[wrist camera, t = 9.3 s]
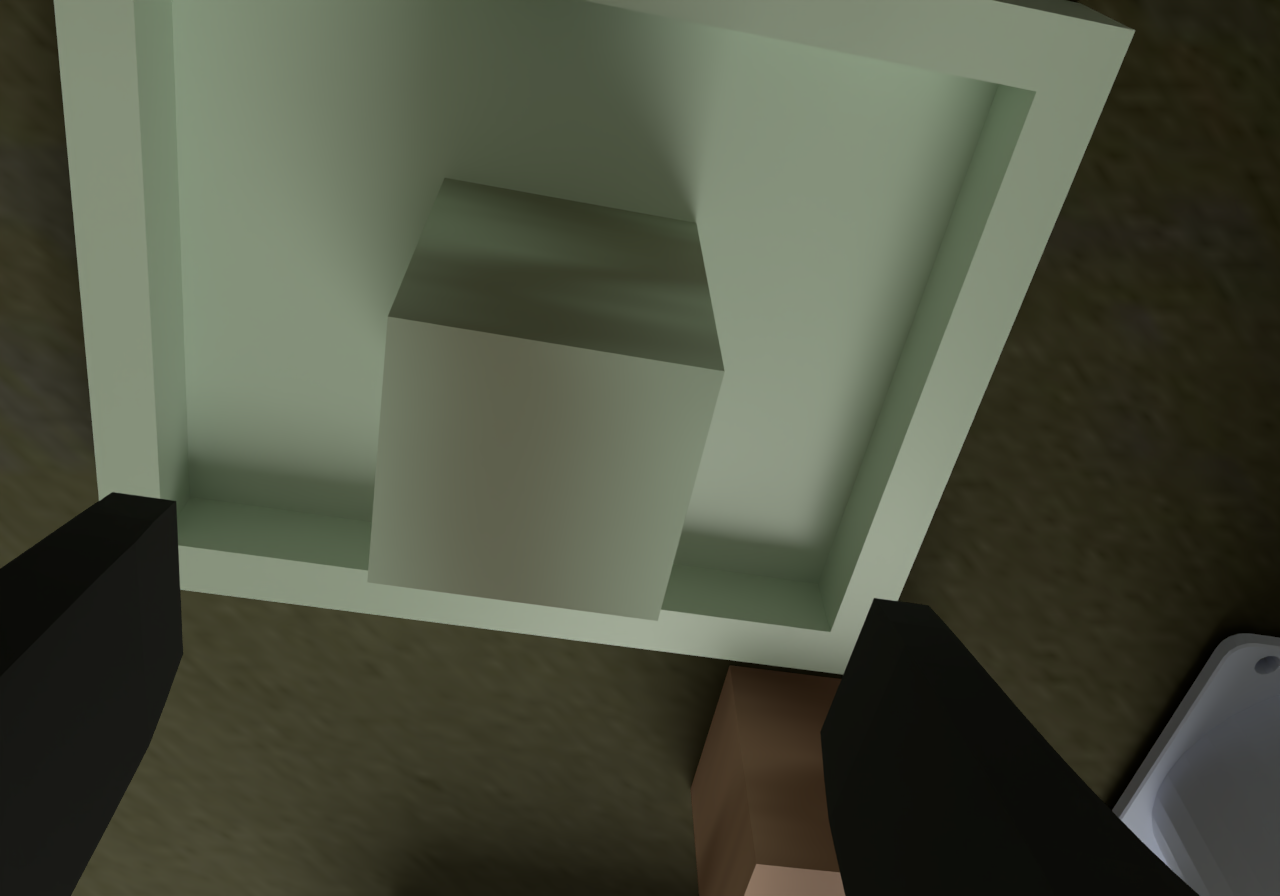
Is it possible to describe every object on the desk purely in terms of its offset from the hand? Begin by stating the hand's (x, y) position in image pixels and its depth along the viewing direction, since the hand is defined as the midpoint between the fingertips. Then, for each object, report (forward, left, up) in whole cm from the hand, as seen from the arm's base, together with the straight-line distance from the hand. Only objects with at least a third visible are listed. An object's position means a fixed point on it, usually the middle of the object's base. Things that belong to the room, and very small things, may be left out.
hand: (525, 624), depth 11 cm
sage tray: (0, 0, -8) cm, 8 cm away
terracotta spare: (-7, +10, -8) cm, 15 cm away
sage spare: (0, 0, -8) cm, 8 cm away
